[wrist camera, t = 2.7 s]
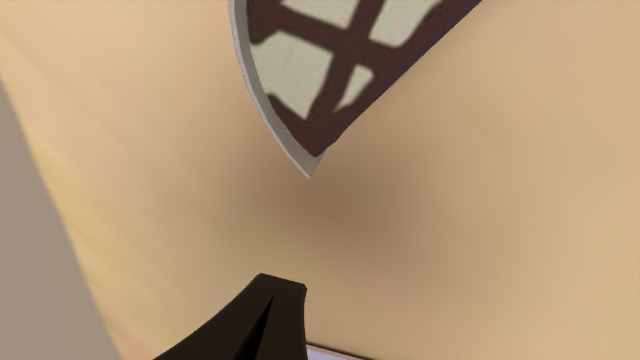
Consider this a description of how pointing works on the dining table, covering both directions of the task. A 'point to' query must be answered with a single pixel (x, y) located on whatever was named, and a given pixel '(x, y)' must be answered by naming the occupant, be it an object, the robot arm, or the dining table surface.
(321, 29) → the food container
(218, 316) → the robot arm
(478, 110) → the dining table surface
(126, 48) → the dining table surface
